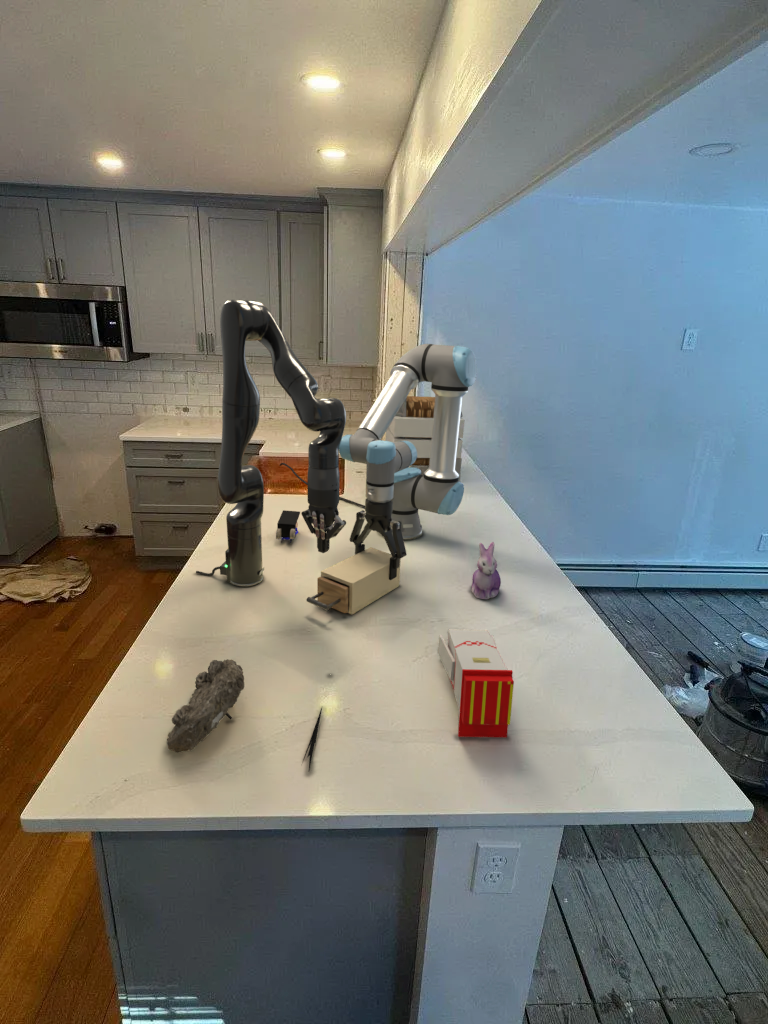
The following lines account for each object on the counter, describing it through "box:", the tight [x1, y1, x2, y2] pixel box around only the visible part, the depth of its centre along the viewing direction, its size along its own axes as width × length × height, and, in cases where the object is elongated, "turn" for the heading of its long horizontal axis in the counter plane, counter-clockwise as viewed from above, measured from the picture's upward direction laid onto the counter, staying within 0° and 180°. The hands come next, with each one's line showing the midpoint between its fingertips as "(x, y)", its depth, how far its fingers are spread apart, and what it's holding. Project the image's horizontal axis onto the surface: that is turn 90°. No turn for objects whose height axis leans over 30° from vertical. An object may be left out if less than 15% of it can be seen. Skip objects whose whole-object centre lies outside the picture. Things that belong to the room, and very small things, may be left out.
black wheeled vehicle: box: [275, 509, 301, 544], centre depth 191 cm, size 7×8×15 cm
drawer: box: [305, 576, 349, 614], centre depth 151 cm, size 26×10×7 cm, turn 143°
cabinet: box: [320, 547, 402, 616], centre depth 156 cm, size 21×11×9 cm, turn 143°
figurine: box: [470, 541, 502, 600], centre depth 158 cm, size 9×10×15 cm
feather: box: [301, 673, 332, 771], centre depth 108 cm, size 2×28×2 cm
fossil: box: [166, 658, 245, 754], centre depth 106 cm, size 22×10×15 cm
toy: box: [437, 628, 515, 738], centre depth 117 cm, size 12×13×30 cm
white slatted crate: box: [384, 395, 465, 482], centre depth 268 cm, size 34×33×41 cm
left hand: (323, 551), depth 139 cm, fingers closed
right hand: (376, 572), depth 161 cm, fingers closed on cabinet, 11 cm apart
